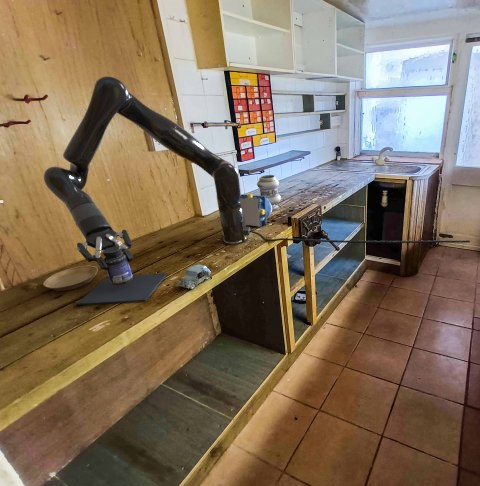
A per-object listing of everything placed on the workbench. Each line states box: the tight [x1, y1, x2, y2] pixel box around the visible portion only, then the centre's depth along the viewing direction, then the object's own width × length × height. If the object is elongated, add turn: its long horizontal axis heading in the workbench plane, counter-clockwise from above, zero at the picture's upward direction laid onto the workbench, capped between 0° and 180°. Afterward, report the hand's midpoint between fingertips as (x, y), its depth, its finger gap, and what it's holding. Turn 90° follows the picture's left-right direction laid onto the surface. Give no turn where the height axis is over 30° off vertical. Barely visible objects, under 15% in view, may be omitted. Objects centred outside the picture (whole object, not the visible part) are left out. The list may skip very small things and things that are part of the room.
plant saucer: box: [42, 265, 99, 292], centre depth 105 cm, size 15×15×3 cm
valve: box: [240, 193, 273, 228], centre depth 153 cm, size 13×15×15 cm
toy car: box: [177, 263, 212, 290], centre depth 102 cm, size 6×10×5 cm, turn 155°
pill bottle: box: [102, 247, 134, 285], centre depth 97 cm, size 6×6×11 cm
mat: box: [76, 273, 168, 306], centre depth 101 cm, size 20×16×1 cm
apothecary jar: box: [256, 174, 282, 212], centre depth 171 cm, size 12×12×18 cm
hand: (118, 264), depth 96 cm, fingers closed on pill bottle, 6 cm apart
